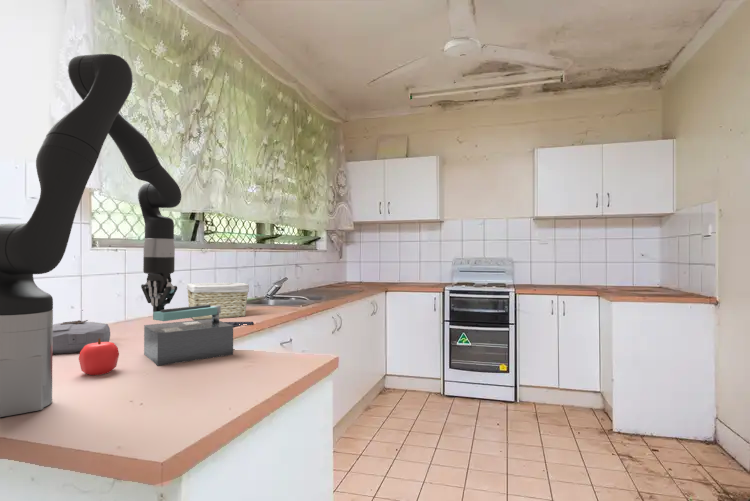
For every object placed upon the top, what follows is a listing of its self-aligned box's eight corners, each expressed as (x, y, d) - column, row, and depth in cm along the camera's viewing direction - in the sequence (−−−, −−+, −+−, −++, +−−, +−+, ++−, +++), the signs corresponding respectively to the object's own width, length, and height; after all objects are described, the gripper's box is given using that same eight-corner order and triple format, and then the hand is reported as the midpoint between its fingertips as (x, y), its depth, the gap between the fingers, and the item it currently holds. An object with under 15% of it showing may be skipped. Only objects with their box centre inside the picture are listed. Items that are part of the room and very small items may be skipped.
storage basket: (240, 312, 203) (240, 281, 203) (250, 317, 189) (250, 283, 190) (185, 316, 191) (185, 283, 191) (191, 321, 177) (191, 285, 177)
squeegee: (202, 333, 154) (202, 325, 154) (216, 325, 169) (216, 318, 169) (243, 333, 155) (243, 325, 155) (253, 325, 170) (253, 318, 170)
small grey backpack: (112, 342, 136) (34, 347, 128) (113, 315, 136) (34, 319, 128) (106, 352, 122) (17, 359, 114) (106, 322, 123) (17, 327, 114)
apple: (100, 378, 96) (100, 342, 96) (69, 376, 98) (69, 341, 98) (127, 369, 104) (127, 335, 104) (98, 367, 105) (98, 334, 105)
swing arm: (214, 311, 128) (214, 303, 128) (225, 313, 125) (225, 304, 125) (153, 319, 113) (153, 309, 113) (163, 321, 110) (163, 311, 110)
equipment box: (233, 354, 119) (233, 317, 119) (157, 365, 107) (157, 324, 107) (213, 345, 131) (213, 311, 131) (144, 354, 119) (144, 316, 119)
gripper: (187, 256, 116) (186, 320, 116) (157, 255, 123) (156, 316, 123) (161, 256, 110) (160, 324, 110) (131, 255, 116) (130, 319, 116)
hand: (158, 319), depth 116 cm, fingers closed
